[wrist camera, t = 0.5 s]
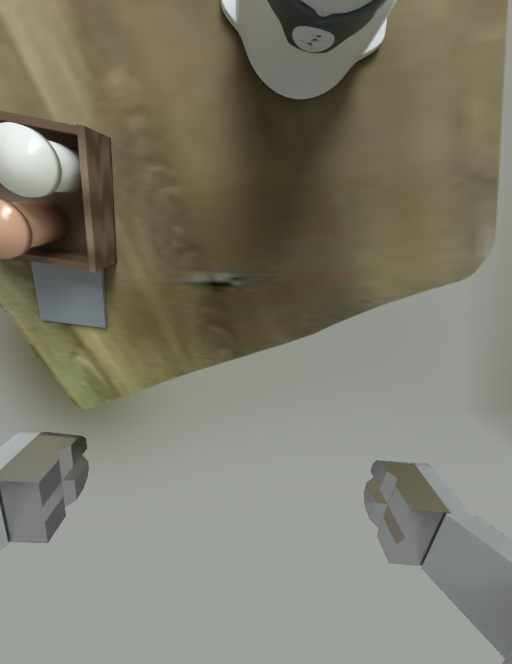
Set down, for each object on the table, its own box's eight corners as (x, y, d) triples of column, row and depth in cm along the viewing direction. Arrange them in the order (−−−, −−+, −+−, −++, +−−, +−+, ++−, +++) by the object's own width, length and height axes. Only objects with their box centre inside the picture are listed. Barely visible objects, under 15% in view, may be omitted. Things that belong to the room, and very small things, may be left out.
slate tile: (33, 256, 42) (29, 257, 41) (103, 267, 43) (101, 268, 42) (44, 318, 46) (40, 320, 45) (107, 325, 47) (105, 327, 46)
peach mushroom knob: (21, 192, 38) (-49, 190, 29) (71, 201, 38) (19, 201, 29) (30, 241, 40) (-32, 254, 31) (76, 248, 41) (29, 262, 32)
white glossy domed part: (45, 137, 35) (-24, 115, 26) (98, 147, 36) (49, 129, 27) (52, 193, 38) (-8, 191, 29) (102, 201, 38) (58, 202, 29)
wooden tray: (-26, 111, 34) (-83, 93, 28) (110, 138, 36) (84, 125, 30) (3, 245, 41) (-38, 253, 35) (116, 262, 43) (96, 272, 37)
